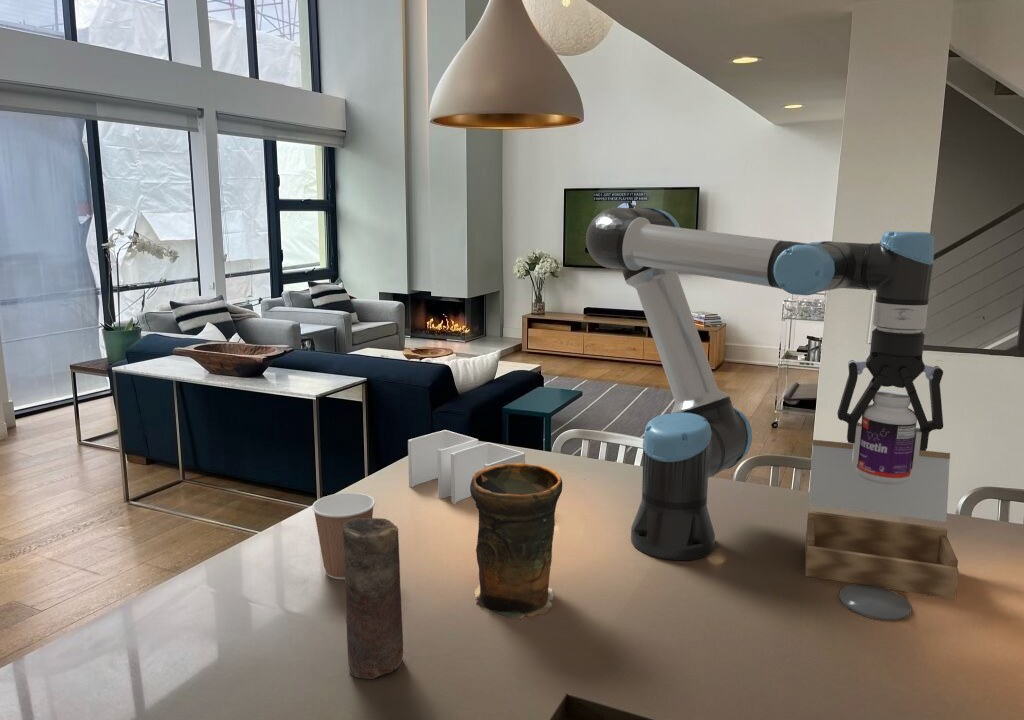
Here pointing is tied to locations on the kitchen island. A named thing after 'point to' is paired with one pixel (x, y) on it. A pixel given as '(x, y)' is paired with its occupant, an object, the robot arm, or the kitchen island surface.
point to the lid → (878, 484)
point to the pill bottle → (887, 439)
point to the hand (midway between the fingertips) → (883, 464)
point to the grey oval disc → (875, 602)
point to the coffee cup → (338, 526)
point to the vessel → (515, 537)
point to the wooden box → (881, 554)
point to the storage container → (454, 461)
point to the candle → (372, 596)
